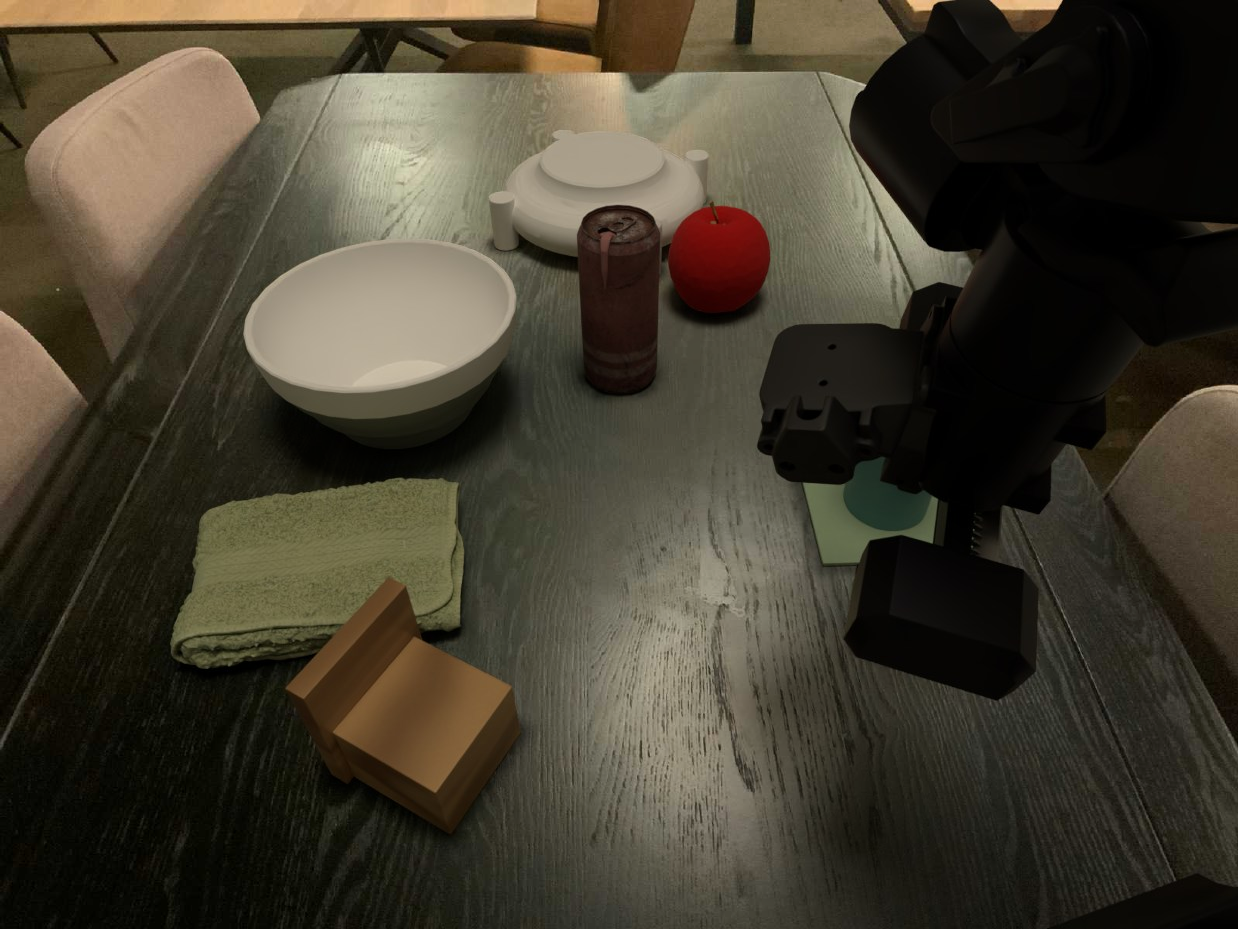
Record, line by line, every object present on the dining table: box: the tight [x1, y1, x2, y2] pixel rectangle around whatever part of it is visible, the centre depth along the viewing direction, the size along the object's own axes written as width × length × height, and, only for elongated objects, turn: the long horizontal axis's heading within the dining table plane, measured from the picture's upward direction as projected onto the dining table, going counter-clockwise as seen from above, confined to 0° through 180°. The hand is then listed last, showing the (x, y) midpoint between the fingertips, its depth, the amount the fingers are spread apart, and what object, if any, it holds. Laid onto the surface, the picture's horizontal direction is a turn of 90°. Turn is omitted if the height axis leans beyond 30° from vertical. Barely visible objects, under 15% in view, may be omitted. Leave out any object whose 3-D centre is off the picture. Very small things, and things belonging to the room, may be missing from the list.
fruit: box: [667, 199, 771, 314], centre depth 76 cm, size 9×9×10 cm
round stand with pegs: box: [488, 129, 710, 276], centre depth 87 cm, size 24×24×7 cm
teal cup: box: [843, 457, 932, 531], centre depth 57 cm, size 6×6×12 cm
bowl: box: [243, 237, 518, 450], centre depth 66 cm, size 20×20×10 cm
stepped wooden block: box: [285, 577, 521, 835], centre depth 45 cm, size 8×8×9 cm
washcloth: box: [170, 477, 465, 670], centre depth 56 cm, size 13×18×3 cm
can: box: [577, 205, 660, 395], centre depth 67 cm, size 6×6×14 cm
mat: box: [801, 483, 974, 567], centre depth 61 cm, size 11×11×1 cm
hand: (895, 563), depth 42 cm, fingers open, 9 cm apart
